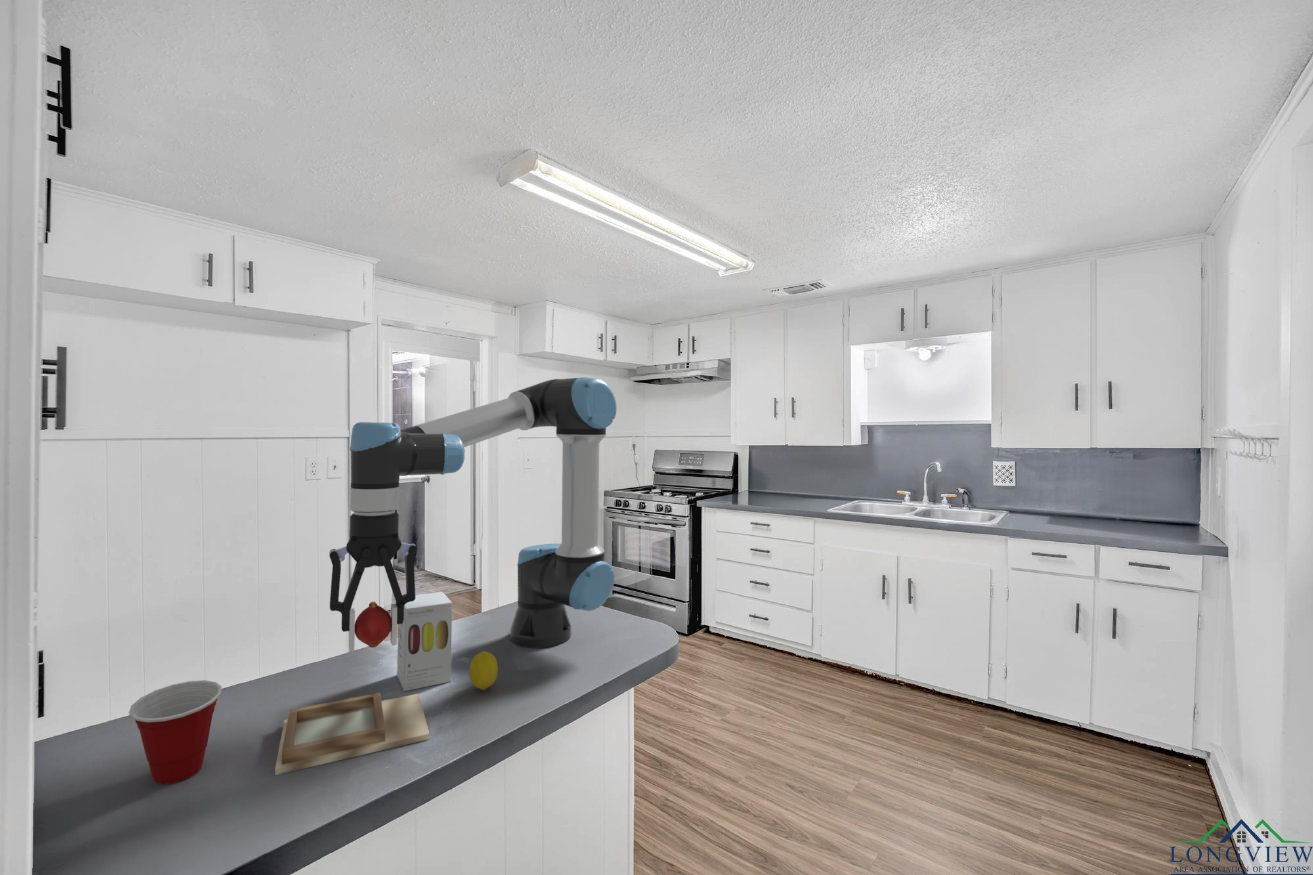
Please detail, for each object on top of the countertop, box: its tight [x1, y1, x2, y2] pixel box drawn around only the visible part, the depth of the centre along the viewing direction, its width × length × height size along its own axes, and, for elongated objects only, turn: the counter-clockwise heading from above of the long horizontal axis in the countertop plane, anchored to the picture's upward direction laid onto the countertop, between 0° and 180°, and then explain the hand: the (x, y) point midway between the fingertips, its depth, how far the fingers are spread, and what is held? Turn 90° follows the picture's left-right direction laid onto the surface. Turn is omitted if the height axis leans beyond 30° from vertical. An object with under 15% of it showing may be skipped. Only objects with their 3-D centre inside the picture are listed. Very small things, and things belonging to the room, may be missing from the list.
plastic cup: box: [128, 679, 222, 785], centre depth 87 cm, size 11×11×12 cm
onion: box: [355, 601, 392, 649], centre depth 99 cm, size 6×6×8 cm
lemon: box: [468, 650, 499, 691], centre depth 116 cm, size 6×6×8 cm
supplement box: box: [396, 591, 453, 692], centre depth 121 cm, size 10×9×17 cm
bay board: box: [274, 692, 430, 776], centre depth 100 cm, size 22×16×3 cm
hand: (372, 645), depth 99 cm, fingers closed on onion, 6 cm apart
